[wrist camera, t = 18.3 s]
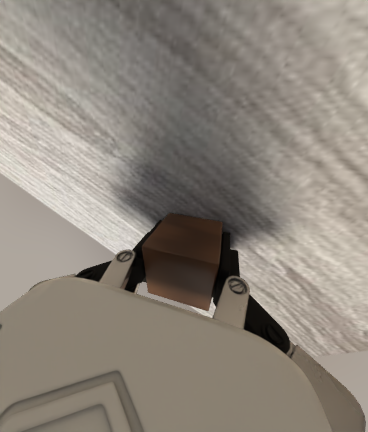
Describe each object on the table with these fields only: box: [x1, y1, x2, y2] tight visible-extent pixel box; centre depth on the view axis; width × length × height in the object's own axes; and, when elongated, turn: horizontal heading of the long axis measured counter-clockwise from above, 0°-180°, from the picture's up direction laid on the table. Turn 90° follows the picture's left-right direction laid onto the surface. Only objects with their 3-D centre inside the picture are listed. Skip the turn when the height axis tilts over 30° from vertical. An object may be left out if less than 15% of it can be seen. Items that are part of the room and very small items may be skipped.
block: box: [142, 213, 223, 311], centre depth 11 cm, size 4×4×4 cm
